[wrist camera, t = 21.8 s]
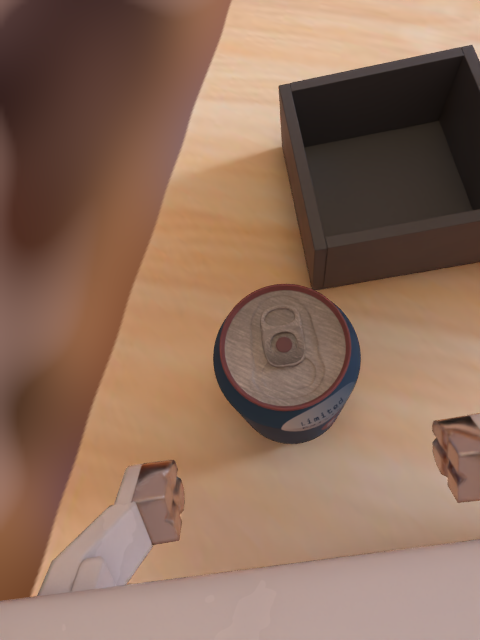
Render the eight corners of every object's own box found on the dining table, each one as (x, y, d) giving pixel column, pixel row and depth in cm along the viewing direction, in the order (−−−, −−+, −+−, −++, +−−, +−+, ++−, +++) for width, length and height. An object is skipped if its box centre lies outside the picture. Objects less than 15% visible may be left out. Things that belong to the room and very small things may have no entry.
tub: (445, 113, 36) (472, 44, 31) (501, 258, 32) (545, 208, 26) (281, 145, 37) (278, 85, 32) (312, 290, 33) (314, 250, 27)
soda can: (351, 437, 29) (383, 413, 18) (246, 451, 29) (213, 435, 18) (331, 337, 31) (348, 259, 20) (235, 352, 32) (199, 284, 21)
